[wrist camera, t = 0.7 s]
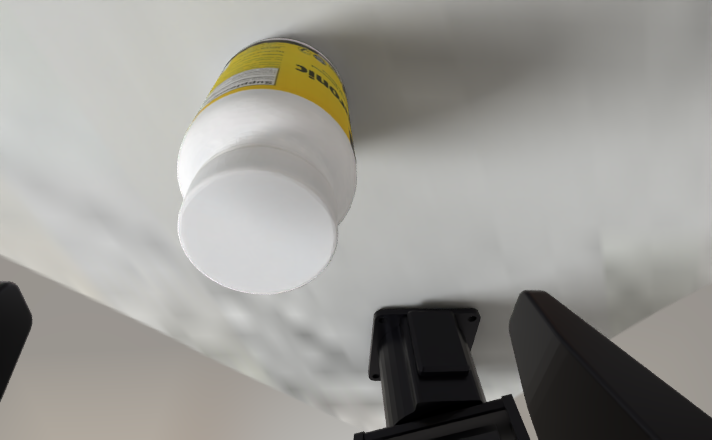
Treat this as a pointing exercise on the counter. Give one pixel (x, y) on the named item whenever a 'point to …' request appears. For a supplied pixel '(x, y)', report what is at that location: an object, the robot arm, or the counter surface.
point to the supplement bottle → (267, 170)
